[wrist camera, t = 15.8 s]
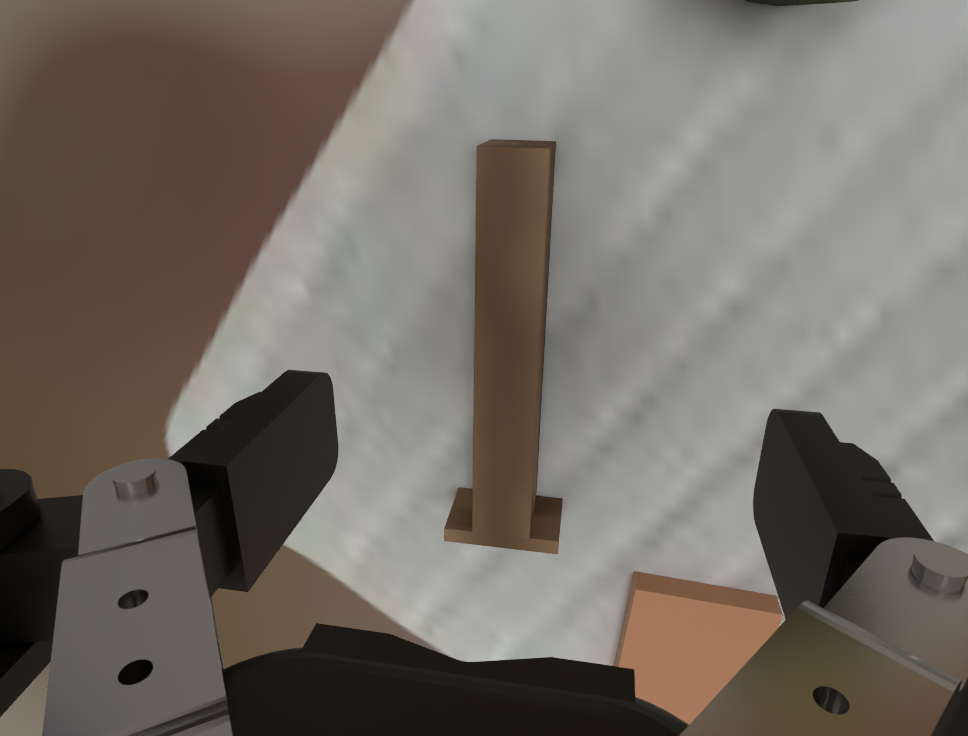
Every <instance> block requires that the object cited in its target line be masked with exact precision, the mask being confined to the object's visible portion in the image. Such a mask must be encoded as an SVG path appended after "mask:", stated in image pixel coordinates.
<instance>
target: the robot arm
mask: <svg viewBox="0 0 968 736" xmlns="http://www.w3.org/2000/svg"><path fill="white" fill-rule="evenodd" d="M337 459H338V437H337V427H336V416H335V405H334V394H333V385H332V381H331V378H330V376H329V375H328V374H327V373H323V372H310V371H297V370H287V371H286V372H284V373H283V374H282V375H281V376H280V377H278V378H277V379H276V380H275V381H274V382H273V383H272V384H270V385H269V386H268V387H267V388H266V389H265V390H263V391H262V392H258V393H256V394H254V395H252V396H249V397H247V398H245V399H243V400H240V401H238V402H236V403H235V404H233V405H232V406H231V407H230V408H229V409H227V410H226V411H225V412H224V413H223V414H221V415H220V418H219V419H215V420H214V421H213V422H212V423H211V424H209V425H208V426H207V428H206V430H202V431H201V432H200V433H199V434H197V435H196V436H195V437H194V438H193V439H191V440H190V441H189V442H188V443H187V444H185V445H184V446H183V447H182V448H181V449H179V450H178V451H177V452H176V453H175V454H173V455H172V456H171V457H170V458H169V459H160V458H159V459H158V458H155V459H143V460H137V461H132V462H128V463H125V464H122V465H118V466H116V467H114V468H111V469H109V470H107V471H105V472H103V473H101V474H100V475H98V476H97V477H95V478H94V479H93V480H91V482H90V483H89V484H88V485H87V486H86V488H85V489H84V492H83V495H81V496H69V497H56V498H45V499H37V496H36V492H35V489H34V486H33V482H32V479H31V476H29V475H28V474H27V473H26V472H24V471H20V470H14V469H0V717H1V716H2V715H3V713H4V712H5V711H6V710H7V709H8V708H9V706H11V704H13V702H14V701H15V700H16V699H17V698H18V697H19V696H20V695H21V694H22V692H23V691H24V690H25V689H26V688H27V687H28V686H29V685H30V684H31V683H32V681H33V680H34V679H35V678H36V677H37V676H38V675H39V674H40V673H41V671H42V670H43V669H44V668H45V667H46V666H47V665H48V664H49V663H50V662H51V663H50V672H49V680H48V690H47V698H46V707H45V716H44V726H43V733H42V736H968V554H966V553H964V552H962V551H960V550H958V549H956V548H953V547H950V546H947V545H945V544H941V543H938V542H934V540H933V539H932V537H931V536H930V535H929V533H928V532H927V530H926V529H925V527H924V526H923V525H922V523H921V522H920V520H919V519H918V517H917V516H916V515H915V513H914V512H913V510H912V509H911V507H910V506H909V505H908V503H907V502H906V500H905V499H902V498H901V496H902V495H901V493H900V492H899V490H898V489H897V487H896V486H895V485H894V483H891V479H890V477H889V476H888V475H887V473H886V472H885V470H884V469H883V467H882V466H881V465H880V463H879V462H878V460H876V459H875V458H873V457H872V456H870V455H869V454H868V453H866V452H865V451H863V450H862V449H860V448H859V447H857V446H856V445H855V444H853V443H842V442H839V440H838V439H837V437H836V436H835V434H834V432H833V431H832V429H831V428H830V426H829V425H828V423H827V421H826V420H825V418H824V417H823V415H822V414H821V413H819V412H807V411H794V410H781V409H773V410H772V411H771V412H770V414H769V417H768V420H767V425H766V430H765V435H764V440H763V445H762V451H761V456H760V461H759V467H758V472H757V477H756V482H755V488H754V498H753V510H754V520H755V524H756V527H757V530H758V534H759V537H760V540H761V543H762V546H763V549H764V552H765V556H766V559H767V562H768V565H769V568H770V571H771V574H772V577H773V581H774V584H775V587H776V590H777V593H778V596H779V599H780V603H781V606H782V609H783V612H784V615H785V618H786V620H785V621H784V622H783V624H782V625H781V626H780V627H779V628H778V629H777V630H776V631H775V632H774V633H773V634H772V636H771V637H770V638H769V639H768V640H767V641H766V642H765V643H764V644H763V645H762V646H761V647H760V649H759V650H758V651H757V652H756V653H755V654H754V655H753V656H752V657H751V658H750V659H749V660H748V662H747V663H746V664H745V665H744V666H743V667H742V668H741V669H740V670H739V671H738V672H737V674H736V675H735V676H734V677H733V678H732V679H731V680H730V681H729V682H728V683H727V684H726V685H725V687H724V688H723V689H722V690H721V691H720V692H719V693H718V694H717V695H716V696H715V697H714V699H713V700H712V701H711V702H710V703H709V704H708V705H707V706H706V707H705V708H704V709H703V710H702V712H701V713H700V714H699V715H698V716H697V717H696V718H695V719H694V720H693V721H692V722H691V724H690V725H689V724H687V723H686V722H684V721H682V720H681V719H679V718H678V717H676V716H674V715H673V714H671V713H669V712H668V711H666V710H664V709H662V708H660V707H658V706H656V705H654V704H652V703H650V702H647V701H645V700H642V699H640V698H637V697H635V671H634V669H629V668H623V667H616V666H609V665H602V664H595V663H588V662H581V661H574V660H567V659H560V658H553V657H548V658H532V659H516V660H500V661H484V662H464V661H460V660H456V659H454V658H451V657H448V656H446V655H443V654H441V653H438V652H435V651H433V650H430V649H427V648H425V647H422V646H420V645H417V644H415V643H412V642H409V641H406V640H404V639H401V638H399V637H396V636H394V635H391V634H387V633H380V632H372V631H366V630H359V629H352V628H345V627H338V626H331V625H324V624H316V625H315V627H314V629H313V630H312V632H311V634H310V636H309V638H308V639H307V641H306V643H305V645H304V646H303V648H293V649H286V650H281V651H275V652H271V653H268V654H264V655H260V656H256V657H253V658H250V659H248V660H245V661H242V662H239V663H237V664H235V665H232V666H230V667H228V668H226V669H225V668H224V662H223V657H222V652H221V647H220V641H219V636H218V630H217V625H216V620H215V614H214V609H213V604H212V599H211V597H212V595H213V594H214V593H215V591H216V590H217V589H218V588H222V589H230V590H237V591H245V592H248V591H249V590H250V588H251V587H252V586H253V584H254V583H255V582H256V580H257V579H258V578H259V576H260V575H261V573H262V572H263V571H264V569H265V568H266V566H267V565H268V564H269V562H270V561H271V560H272V558H273V557H274V555H275V554H276V553H277V551H278V550H279V549H280V547H281V546H282V545H283V543H284V542H285V540H286V539H287V538H288V536H289V535H290V534H291V532H292V531H293V529H294V528H295V527H296V525H297V524H298V523H299V521H300V520H301V518H302V517H303V516H304V514H305V513H306V512H307V510H308V509H309V507H310V506H311V505H312V503H313V502H314V501H315V499H316V498H317V497H318V495H319V494H320V492H321V491H322V490H323V488H324V487H325V486H326V484H327V483H328V481H329V480H330V479H331V477H332V475H333V473H334V471H335V468H336V464H337Z"/></svg>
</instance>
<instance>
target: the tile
mask: <svg viewBox="0 0 968 736" xmlns="http://www.w3.org/2000/svg"><path fill="white" fill-rule="evenodd" d="M782 616H783V614H782V611H781V608H780V606H779V603H778V600H777V597H776V596H773V595H768V594H762V593H756V592H750V591H745V590H739V589H733V588H727V587H722V586H716V585H710V584H704V583H699V582H693V581H687V580H681V579H675V578H670V577H664V576H658V575H652V574H647V573H641V572H635V571H634V576H633V580H632V585H631V589H630V594H629V599H628V603H627V608H626V612H625V617H624V622H623V626H622V631H621V635H620V640H619V645H618V649H617V654H616V658H615V663H614V666H616V667H623V668H629V669H634V671H635V697H637V698H640V699H642V700H645V701H647V702H650V703H652V704H654V705H656V706H658V707H660V708H662V709H664V710H666V711H668V712H669V713H671V714H673V715H674V716H676V717H678V718H679V719H681V720H682V721H684V722H686V723H687V724H689V725H690V724H691V722H692V721H693V720H694V719H695V718H696V717H697V716H698V715H699V714H700V713H701V712H702V710H703V709H704V708H705V707H706V706H707V705H708V704H709V703H710V702H711V701H712V700H713V699H714V697H715V696H716V695H717V694H718V693H719V692H720V691H721V690H722V689H723V688H724V687H725V685H726V684H727V683H728V682H729V681H730V680H731V679H732V678H733V677H734V676H735V675H736V674H737V672H738V671H739V670H740V669H741V668H742V667H743V666H744V665H745V664H746V663H747V662H748V660H749V659H750V658H751V657H752V656H753V655H754V654H755V653H756V652H757V651H758V650H759V649H760V647H761V646H762V645H763V644H764V643H765V642H766V641H767V640H768V639H769V638H770V637H771V636H772V634H773V633H774V632H775V631H776V630H777V629H778V627H779V624H780V621H781V619H782Z"/></svg>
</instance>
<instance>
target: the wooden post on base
mask: <svg viewBox="0 0 968 736" xmlns="http://www.w3.org/2000/svg"><path fill="white" fill-rule="evenodd" d="M555 149H556V141H524V140H489V141H487V142H485V143H483V144H481V145H479V146H477V178H476V262H475V346H474V431H473V489H468V488H458V491H457V494H456V497H455V500H454V502H453V505H452V508H451V511H450V514H449V516H448V519H447V522H446V525H445V528H444V541H449V542H458V543H466V544H475V545H483V546H492V547H501V548H509V549H518V550H526V551H535V552H544V553H552V554H558V544H559V533H560V522H561V512H562V498H552V497H543V496H536V489H537V471H538V453H539V435H540V417H541V399H542V382H543V364H544V346H545V328H546V310H547V292H548V274H549V256H550V239H551V221H552V203H553V185H554V167H555Z"/></svg>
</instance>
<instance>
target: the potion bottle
mask: <svg viewBox="0 0 968 736" xmlns="http://www.w3.org/2000/svg"><path fill="white" fill-rule="evenodd" d="M746 1H748V2H755V3H761V4H768V5H775V6H789V5H805V4H821V3H837V2H853V1H857V0H746Z"/></svg>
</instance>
